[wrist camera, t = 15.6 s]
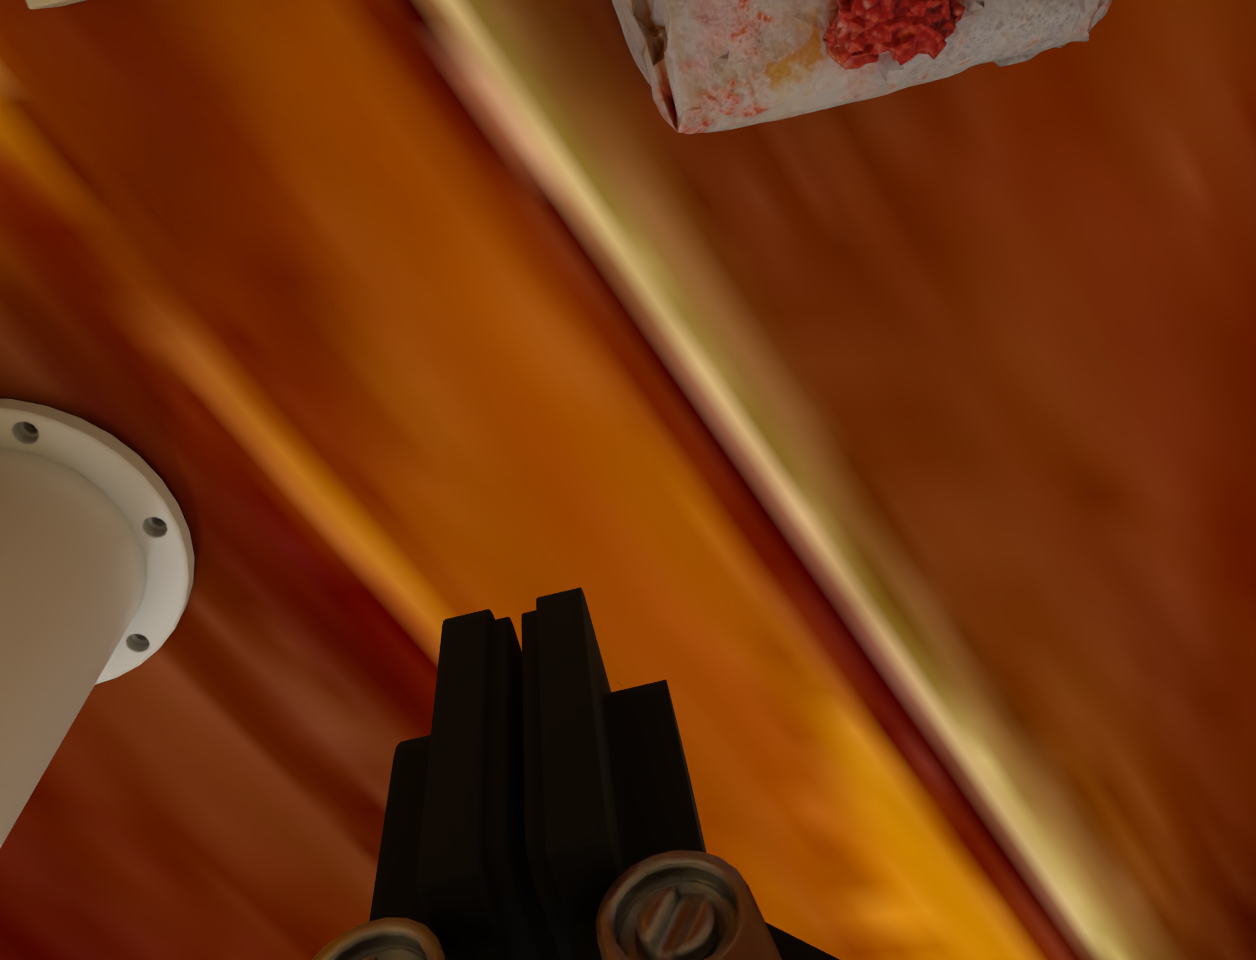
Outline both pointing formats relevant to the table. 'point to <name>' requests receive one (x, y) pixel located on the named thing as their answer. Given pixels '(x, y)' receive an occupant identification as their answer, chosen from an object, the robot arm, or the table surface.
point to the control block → (49, 3)
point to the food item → (826, 50)
